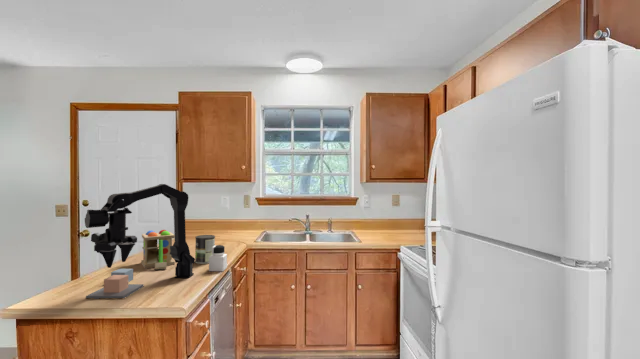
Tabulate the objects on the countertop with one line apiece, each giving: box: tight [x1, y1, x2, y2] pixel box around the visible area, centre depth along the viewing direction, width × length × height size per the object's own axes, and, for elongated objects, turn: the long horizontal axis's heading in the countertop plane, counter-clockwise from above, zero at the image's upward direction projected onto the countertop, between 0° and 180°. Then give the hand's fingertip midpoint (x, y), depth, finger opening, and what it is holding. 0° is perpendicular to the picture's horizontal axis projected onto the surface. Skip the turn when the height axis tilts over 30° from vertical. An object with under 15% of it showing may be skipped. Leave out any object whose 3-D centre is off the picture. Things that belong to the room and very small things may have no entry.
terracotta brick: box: [103, 275, 129, 292], centre depth 127 cm, size 6×6×5 cm
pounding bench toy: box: [140, 229, 176, 271], centre depth 169 cm, size 23×14×18 cm, turn 35°
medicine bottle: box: [208, 244, 228, 272], centre depth 161 cm, size 7×7×12 cm
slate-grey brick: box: [110, 268, 134, 283], centre depth 141 cm, size 6×6×5 cm
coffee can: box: [194, 234, 216, 265], centre depth 177 cm, size 10×10×14 cm
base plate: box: [85, 283, 145, 300], centre depth 127 cm, size 14×14×1 cm
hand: (116, 264), depth 127 cm, fingers open, 9 cm apart
